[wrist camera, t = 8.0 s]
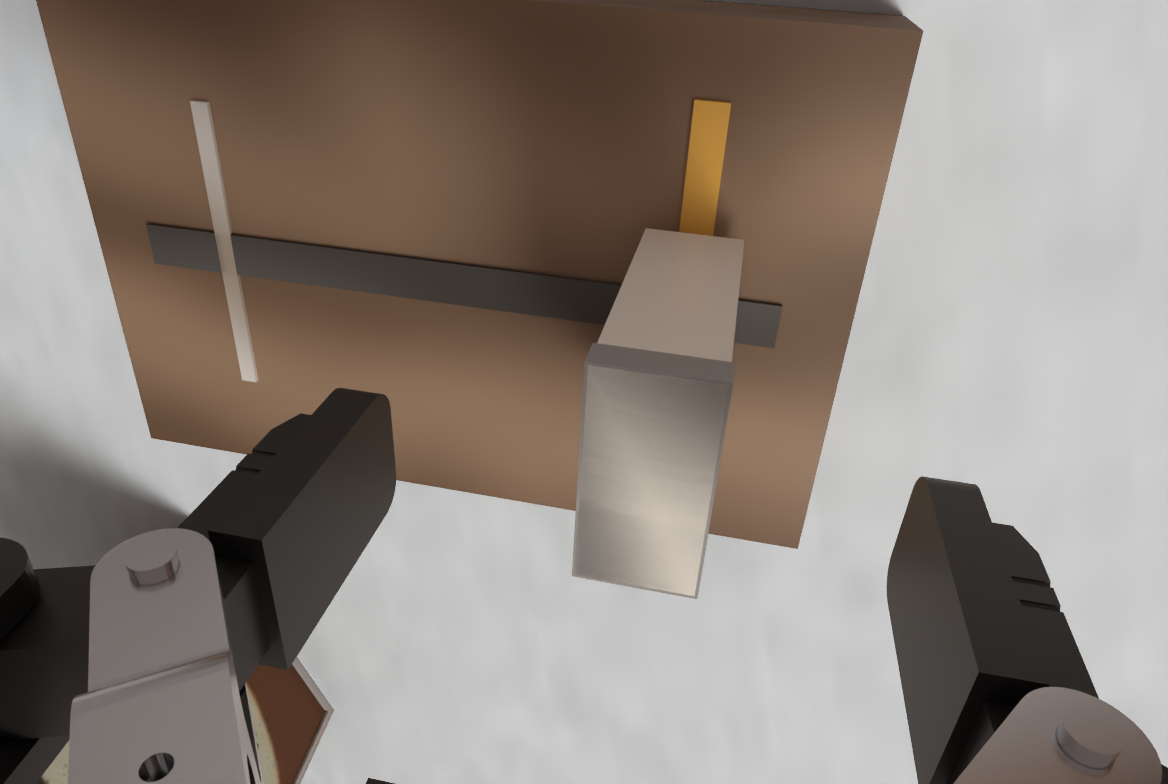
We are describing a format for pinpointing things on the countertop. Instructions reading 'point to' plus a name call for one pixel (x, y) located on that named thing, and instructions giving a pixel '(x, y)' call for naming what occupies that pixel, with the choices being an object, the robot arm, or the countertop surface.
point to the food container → (266, 724)
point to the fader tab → (657, 415)
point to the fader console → (478, 213)
